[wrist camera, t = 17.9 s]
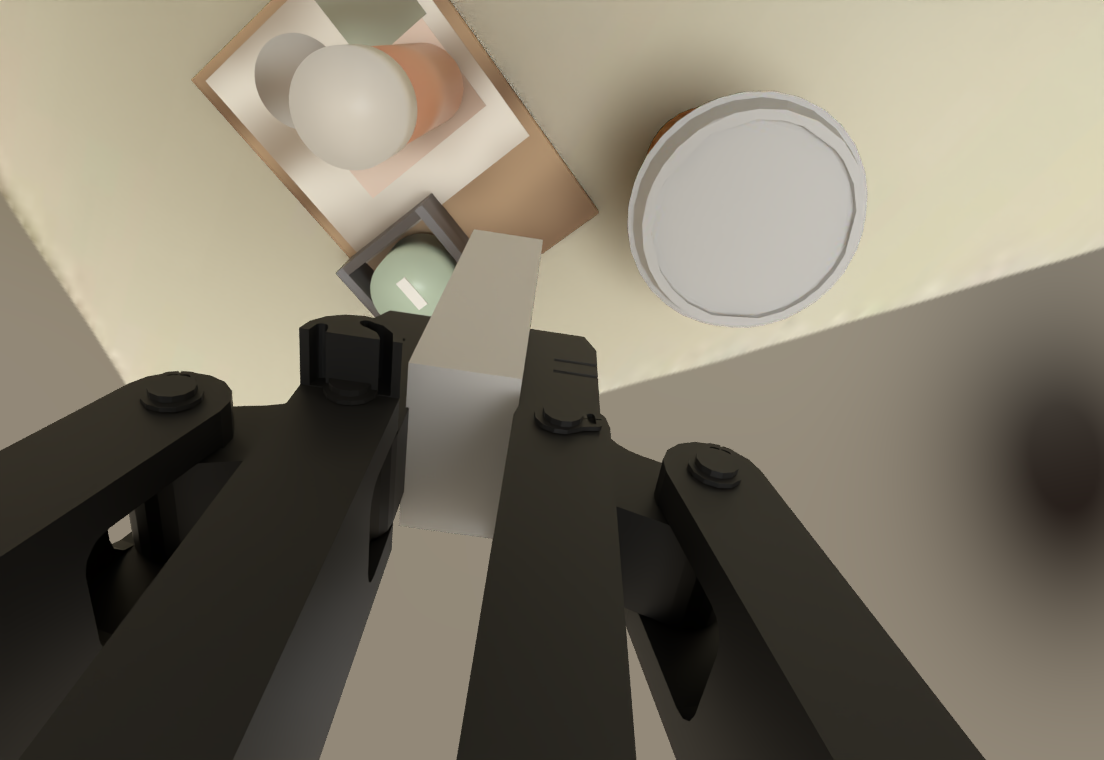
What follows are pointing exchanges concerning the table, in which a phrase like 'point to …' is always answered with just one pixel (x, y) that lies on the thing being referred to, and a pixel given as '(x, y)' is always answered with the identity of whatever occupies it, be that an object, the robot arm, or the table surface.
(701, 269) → the disposable coffee cup
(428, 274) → the button
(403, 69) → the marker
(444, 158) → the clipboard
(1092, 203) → the table surface
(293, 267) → the table surface
